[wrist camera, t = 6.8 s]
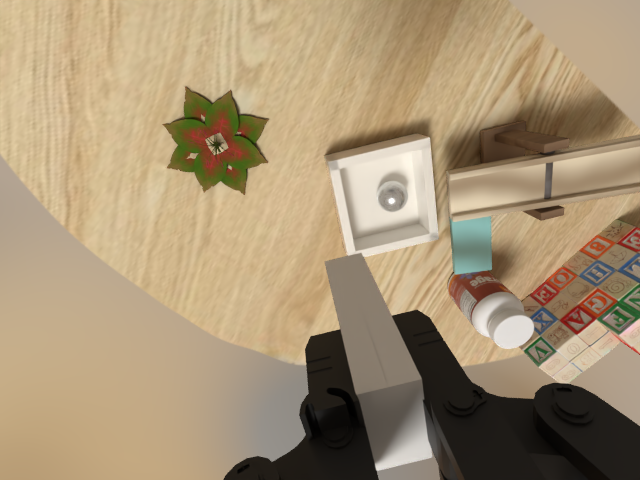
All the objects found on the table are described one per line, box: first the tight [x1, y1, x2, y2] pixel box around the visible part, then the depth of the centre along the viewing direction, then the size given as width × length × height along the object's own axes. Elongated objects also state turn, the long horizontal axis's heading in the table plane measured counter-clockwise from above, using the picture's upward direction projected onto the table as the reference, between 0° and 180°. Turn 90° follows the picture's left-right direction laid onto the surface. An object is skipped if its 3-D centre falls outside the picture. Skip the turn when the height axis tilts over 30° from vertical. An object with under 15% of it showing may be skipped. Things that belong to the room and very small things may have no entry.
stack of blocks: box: [519, 219, 640, 384], centre depth 45 cm, size 21×6×12 cm, turn 140°
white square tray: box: [324, 133, 439, 257], centre depth 41 cm, size 12×11×4 cm
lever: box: [446, 135, 640, 275], centre depth 36 cm, size 12×19×3 cm, turn 102°
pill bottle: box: [448, 271, 534, 349], centre depth 44 cm, size 6×6×11 cm
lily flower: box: [163, 87, 268, 195], centre depth 37 cm, size 12×12×5 cm
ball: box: [377, 181, 408, 212], centre depth 40 cm, size 4×4×4 cm
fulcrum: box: [480, 121, 569, 220], centre depth 38 cm, size 9×5×9 cm, turn 12°
